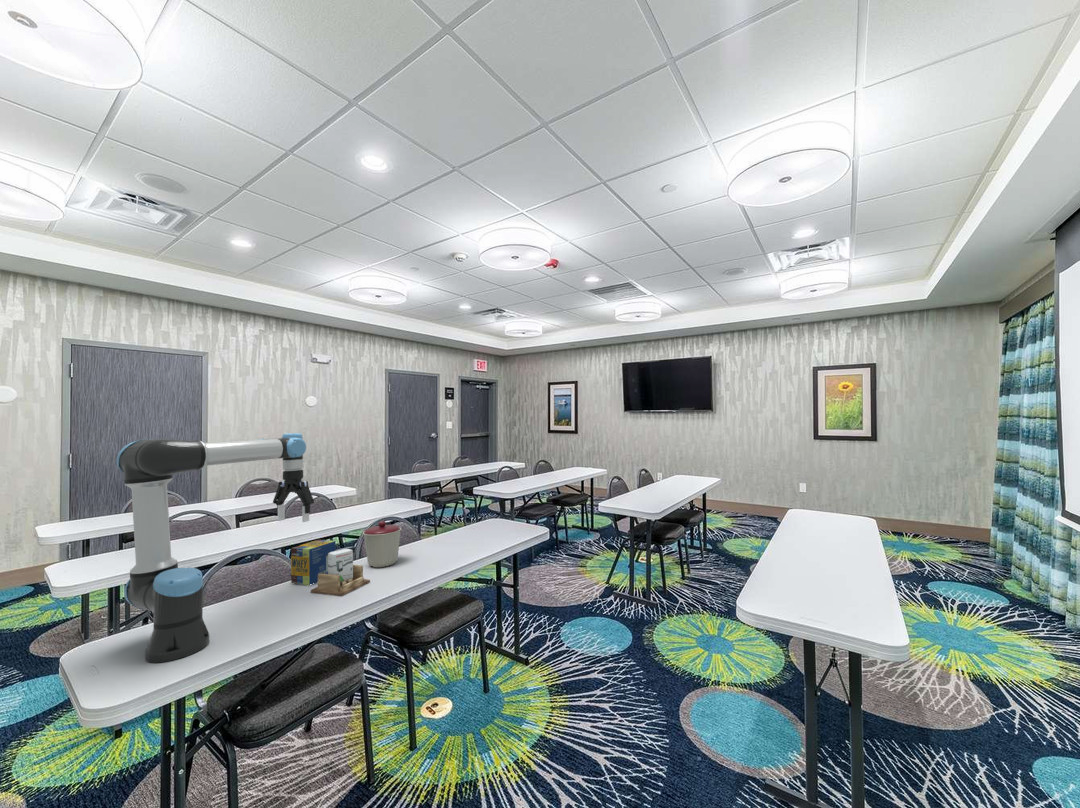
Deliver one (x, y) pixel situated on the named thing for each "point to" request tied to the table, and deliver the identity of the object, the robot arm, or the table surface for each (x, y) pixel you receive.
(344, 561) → the ink box
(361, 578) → the peg frame
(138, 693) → the table surface
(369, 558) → the canister
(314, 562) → the protein box
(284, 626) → the table surface
